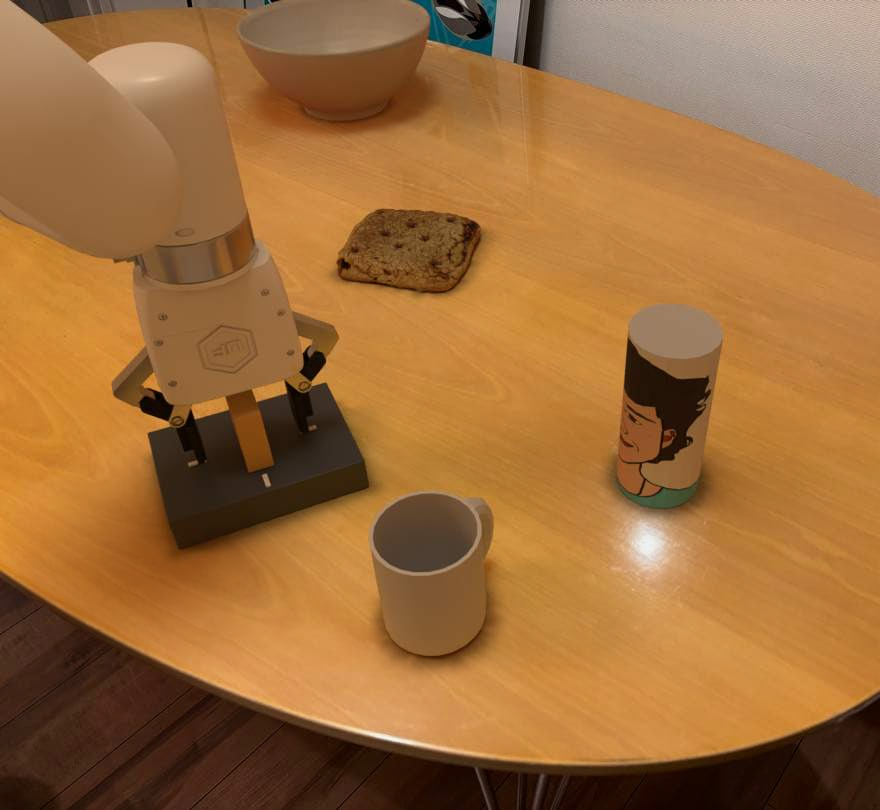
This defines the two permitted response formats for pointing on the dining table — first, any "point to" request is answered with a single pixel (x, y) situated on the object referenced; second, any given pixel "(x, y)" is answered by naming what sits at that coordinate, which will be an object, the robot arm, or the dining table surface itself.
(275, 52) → the decorative bowl
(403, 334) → the dining table surface
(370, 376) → the dining table surface
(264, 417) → the plate
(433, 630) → the cup
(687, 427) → the printed cylinder
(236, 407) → the red-cornered brown block
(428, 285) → the pastry
